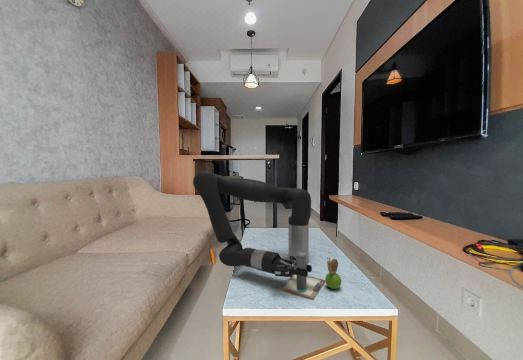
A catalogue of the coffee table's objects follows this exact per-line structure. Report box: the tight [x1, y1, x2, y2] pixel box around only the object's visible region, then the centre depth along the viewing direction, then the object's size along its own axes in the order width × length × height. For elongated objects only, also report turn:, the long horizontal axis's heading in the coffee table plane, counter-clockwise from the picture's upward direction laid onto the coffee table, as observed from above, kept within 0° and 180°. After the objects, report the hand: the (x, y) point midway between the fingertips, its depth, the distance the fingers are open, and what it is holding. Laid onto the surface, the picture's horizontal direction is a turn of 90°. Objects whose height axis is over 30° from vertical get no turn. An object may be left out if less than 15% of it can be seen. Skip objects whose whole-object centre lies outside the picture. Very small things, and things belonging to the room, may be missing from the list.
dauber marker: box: [296, 251, 307, 292], centre depth 78 cm, size 3×3×13 cm
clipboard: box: [279, 275, 326, 301], centre depth 82 cm, size 14×12×1 cm
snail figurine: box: [324, 256, 342, 290], centre depth 80 cm, size 5×6×12 cm
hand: (309, 271), depth 77 cm, fingers closed on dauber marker, 3 cm apart
